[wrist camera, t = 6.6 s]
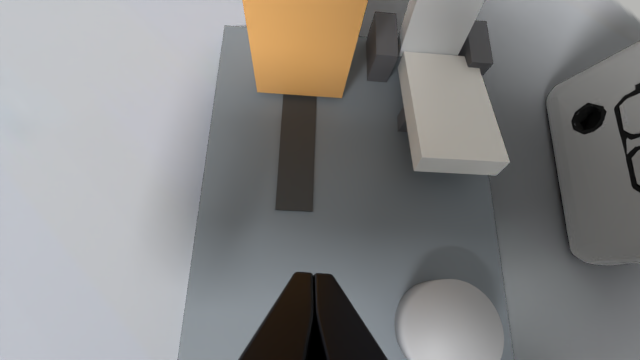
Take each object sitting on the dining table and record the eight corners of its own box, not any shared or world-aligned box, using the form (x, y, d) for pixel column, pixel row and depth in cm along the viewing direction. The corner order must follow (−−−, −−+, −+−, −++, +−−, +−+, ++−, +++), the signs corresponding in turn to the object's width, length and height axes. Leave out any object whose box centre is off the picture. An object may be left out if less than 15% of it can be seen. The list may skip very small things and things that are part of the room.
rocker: (496, 175, 14) (510, 162, 13) (413, 171, 14) (422, 157, 13) (466, 73, 17) (475, 57, 16) (397, 68, 17) (403, 51, 16)
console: (509, 435, 14) (567, 472, 11) (174, 436, 13) (141, 477, 10) (461, 57, 19) (491, 16, 17) (228, 39, 18) (216, -8, 16)
